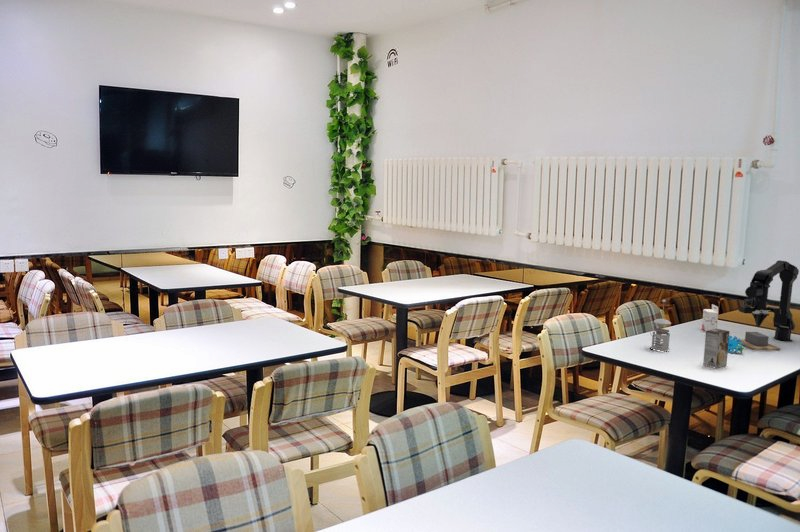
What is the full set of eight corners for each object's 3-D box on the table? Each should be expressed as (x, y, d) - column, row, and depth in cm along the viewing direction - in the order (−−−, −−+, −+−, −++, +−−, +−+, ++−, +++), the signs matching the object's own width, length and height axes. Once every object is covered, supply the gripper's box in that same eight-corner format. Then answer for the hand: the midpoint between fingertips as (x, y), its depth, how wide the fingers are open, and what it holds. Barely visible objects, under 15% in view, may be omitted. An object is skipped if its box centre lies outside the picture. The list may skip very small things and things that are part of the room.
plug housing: (756, 341, 339) (757, 331, 338) (767, 346, 329) (768, 336, 328) (744, 341, 339) (745, 331, 338) (756, 346, 329) (757, 336, 328)
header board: (758, 341, 343) (759, 334, 343) (779, 350, 325) (780, 343, 325) (732, 340, 342) (733, 334, 342) (752, 350, 325) (753, 343, 324)
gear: (715, 347, 321) (725, 332, 324) (717, 354, 325) (727, 338, 328) (737, 355, 313) (748, 339, 316) (739, 362, 317) (750, 346, 319)
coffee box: (713, 362, 301) (716, 328, 299) (726, 365, 296) (730, 331, 293) (702, 365, 295) (705, 330, 293) (716, 368, 290) (719, 333, 288)
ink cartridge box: (700, 329, 367) (703, 303, 365) (709, 329, 367) (712, 303, 365) (707, 332, 359) (710, 306, 357) (716, 333, 359) (719, 306, 357)
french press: (659, 352, 314) (663, 301, 311) (642, 346, 325) (646, 297, 322) (675, 351, 318) (679, 300, 315) (657, 345, 329) (661, 296, 325)
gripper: (769, 293, 339) (766, 323, 341) (734, 293, 338) (731, 322, 340) (782, 297, 328) (779, 328, 330) (746, 297, 327) (743, 327, 329)
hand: (757, 326), depth 332 cm, fingers closed
